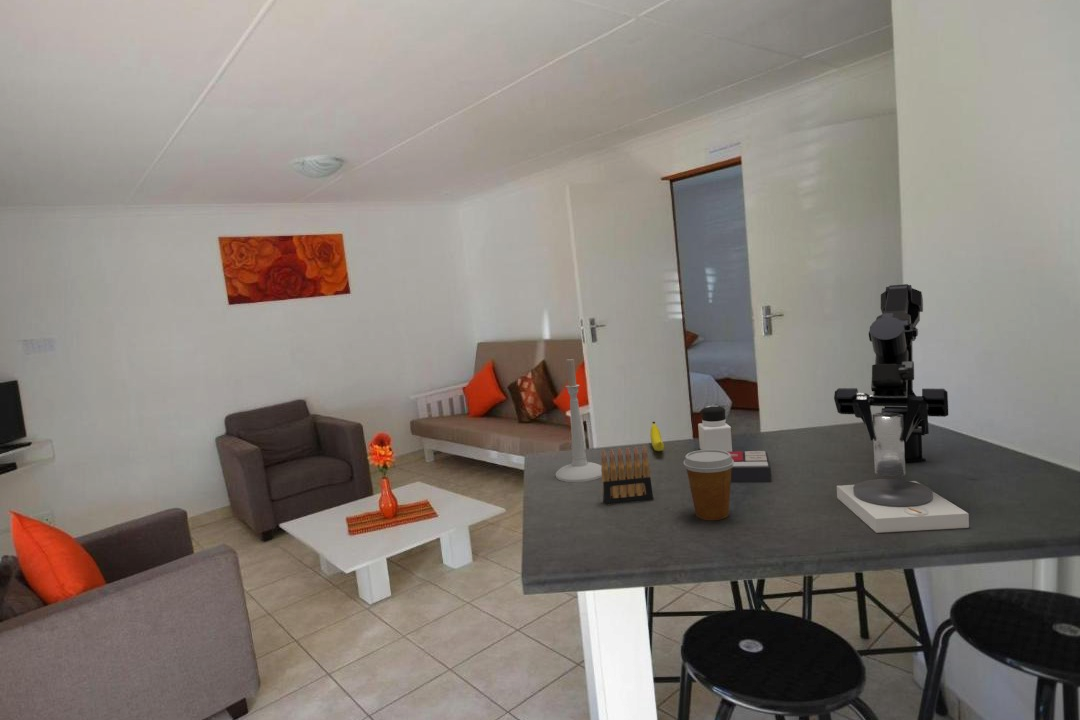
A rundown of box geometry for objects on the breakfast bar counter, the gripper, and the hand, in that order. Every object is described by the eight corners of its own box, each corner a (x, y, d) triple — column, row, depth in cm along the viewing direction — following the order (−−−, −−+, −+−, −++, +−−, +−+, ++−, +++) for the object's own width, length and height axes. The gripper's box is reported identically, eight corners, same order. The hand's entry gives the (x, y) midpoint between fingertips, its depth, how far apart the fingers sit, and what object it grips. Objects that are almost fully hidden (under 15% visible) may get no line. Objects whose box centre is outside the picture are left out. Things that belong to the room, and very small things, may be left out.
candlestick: (594, 464, 167) (584, 352, 163) (614, 476, 154) (603, 356, 151) (549, 472, 163) (537, 358, 160) (566, 485, 151) (554, 362, 147)
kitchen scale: (915, 493, 124) (915, 475, 123) (968, 527, 106) (968, 507, 106) (837, 497, 125) (836, 481, 125) (876, 532, 108) (875, 513, 107)
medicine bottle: (733, 453, 164) (730, 408, 163) (705, 455, 164) (702, 410, 163) (725, 446, 171) (722, 403, 170) (699, 448, 171) (696, 405, 170)
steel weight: (886, 467, 120) (884, 411, 119) (911, 472, 116) (909, 414, 115) (868, 472, 118) (866, 415, 117) (893, 478, 114) (890, 419, 113)
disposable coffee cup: (683, 508, 128) (678, 451, 127) (729, 504, 128) (726, 447, 126) (693, 525, 119) (688, 464, 117) (743, 521, 118) (739, 459, 117)
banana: (656, 460, 164) (654, 437, 163) (650, 443, 183) (648, 421, 182) (667, 460, 164) (665, 436, 163) (660, 442, 182) (658, 421, 182)
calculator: (767, 449, 153) (770, 463, 138) (768, 466, 153) (771, 483, 139) (720, 450, 156) (719, 464, 142) (721, 467, 156) (720, 483, 142)
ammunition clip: (604, 504, 135) (599, 450, 133) (603, 502, 137) (598, 448, 135) (653, 499, 135) (649, 445, 134) (651, 497, 137) (647, 443, 135)
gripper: (833, 348, 123) (826, 415, 115) (946, 344, 112) (946, 418, 105) (841, 380, 130) (835, 445, 123) (948, 380, 120) (948, 451, 112)
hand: (887, 440), depth 115 cm, fingers closed on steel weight, 5 cm apart
